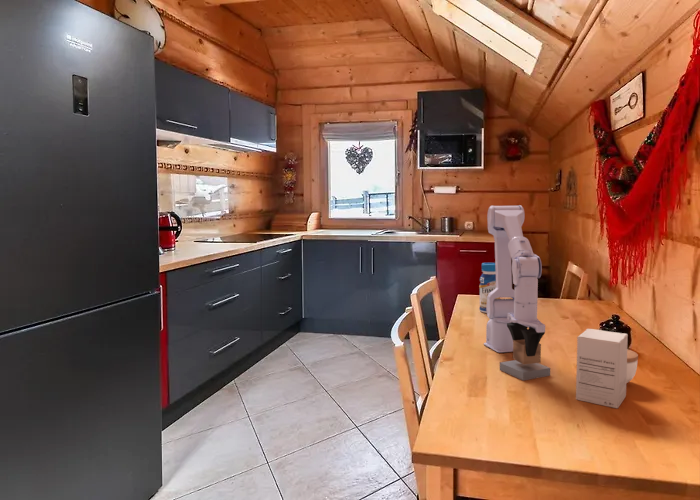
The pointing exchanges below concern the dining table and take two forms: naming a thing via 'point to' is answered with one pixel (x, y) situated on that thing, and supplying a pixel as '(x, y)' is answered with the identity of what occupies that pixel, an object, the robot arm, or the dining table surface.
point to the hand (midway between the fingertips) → (524, 352)
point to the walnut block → (521, 355)
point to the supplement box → (601, 367)
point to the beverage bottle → (487, 284)
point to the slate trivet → (524, 370)
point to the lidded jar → (631, 364)
